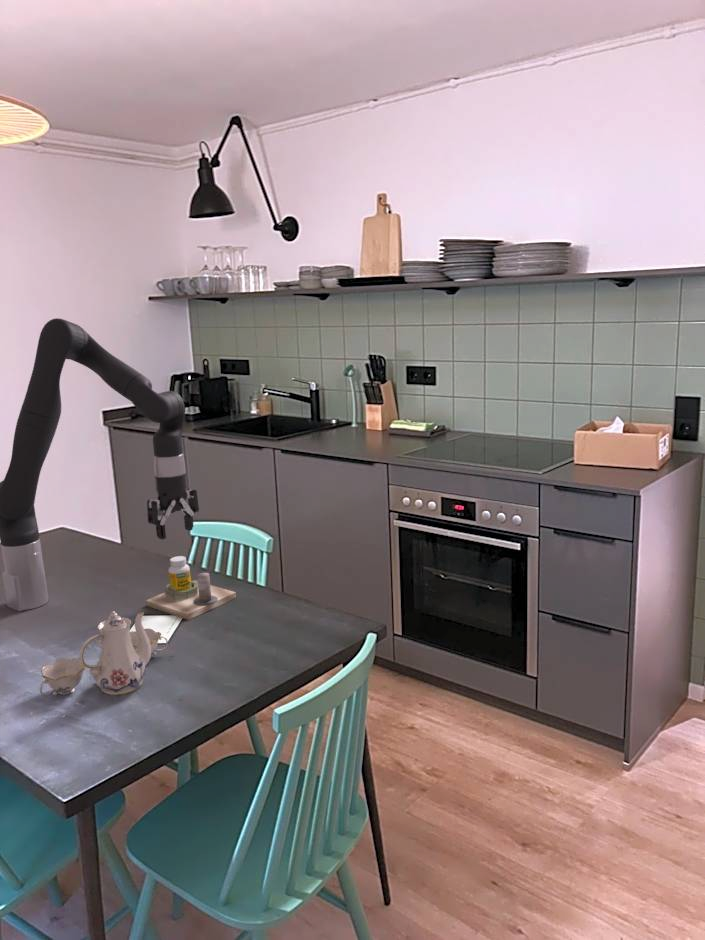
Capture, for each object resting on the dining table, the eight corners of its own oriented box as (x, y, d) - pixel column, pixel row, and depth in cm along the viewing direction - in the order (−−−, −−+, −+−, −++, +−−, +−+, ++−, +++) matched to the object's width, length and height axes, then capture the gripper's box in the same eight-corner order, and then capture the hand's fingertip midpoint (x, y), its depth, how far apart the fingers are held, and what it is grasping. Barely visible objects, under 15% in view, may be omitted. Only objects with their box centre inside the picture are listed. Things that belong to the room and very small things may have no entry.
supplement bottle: (184, 587, 202) (181, 553, 200) (196, 593, 198) (192, 558, 196) (167, 593, 198) (163, 559, 196) (178, 599, 194) (174, 563, 192)
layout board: (189, 620, 185) (186, 587, 183) (146, 605, 195) (143, 574, 193) (237, 598, 197) (234, 567, 195) (195, 585, 207) (192, 555, 205)
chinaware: (148, 651, 174) (135, 581, 171) (194, 664, 163) (182, 590, 161) (32, 705, 153) (16, 627, 150) (77, 724, 142) (61, 640, 140)
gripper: (183, 465, 198) (188, 524, 202) (137, 476, 187) (143, 539, 191) (202, 468, 193) (207, 529, 197) (156, 480, 183) (162, 544, 186)
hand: (175, 534), depth 194 cm, fingers open, 8 cm apart
